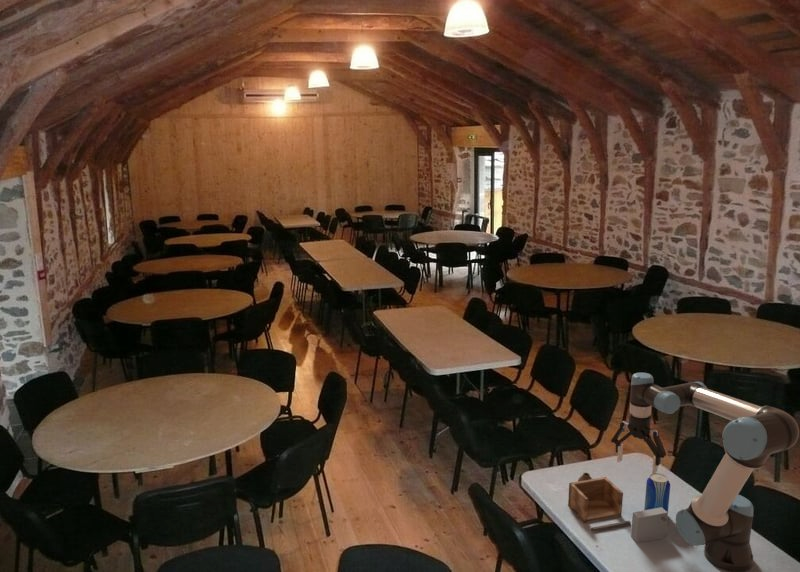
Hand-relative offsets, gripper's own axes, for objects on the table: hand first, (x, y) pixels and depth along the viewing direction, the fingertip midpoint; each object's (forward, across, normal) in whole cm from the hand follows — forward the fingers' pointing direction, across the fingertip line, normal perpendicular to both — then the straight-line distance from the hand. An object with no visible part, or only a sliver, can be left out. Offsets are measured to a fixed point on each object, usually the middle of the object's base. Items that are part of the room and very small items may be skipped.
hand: (636, 466), depth 247 cm
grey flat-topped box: (+21, -9, +9) cm, 25 cm away
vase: (+20, +21, -2) cm, 30 cm away
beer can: (+21, -6, -6) cm, 23 cm away
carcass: (+21, +10, +8) cm, 24 cm away
